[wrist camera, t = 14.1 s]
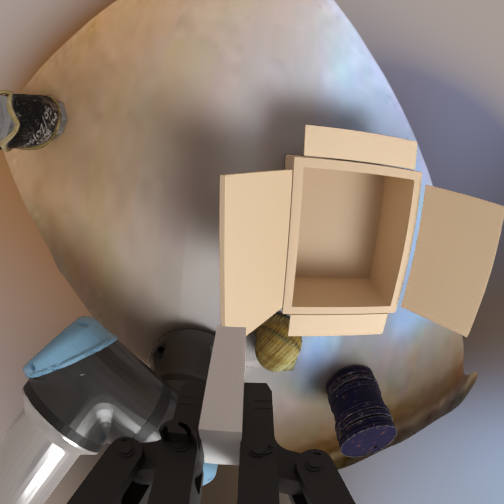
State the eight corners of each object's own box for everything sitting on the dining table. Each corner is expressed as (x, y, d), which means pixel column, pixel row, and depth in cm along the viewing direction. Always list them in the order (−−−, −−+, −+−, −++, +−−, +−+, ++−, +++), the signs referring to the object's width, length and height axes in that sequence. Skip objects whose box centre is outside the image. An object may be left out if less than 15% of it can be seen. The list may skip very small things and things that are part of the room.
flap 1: (225, 175, 20) (219, 175, 20) (225, 351, 26) (221, 349, 26) (292, 169, 28) (288, 169, 28) (282, 307, 33) (278, 306, 34)
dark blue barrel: (316, 383, 50) (329, 446, 36) (360, 356, 48) (385, 417, 34) (340, 405, 53) (355, 462, 39) (380, 381, 51) (404, 436, 37)
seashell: (266, 308, 49) (233, 341, 46) (278, 300, 43) (240, 339, 40) (305, 346, 48) (275, 381, 45) (323, 345, 42) (289, 385, 39)
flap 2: (466, 337, 26) (467, 335, 26) (505, 207, 20) (505, 206, 21) (401, 306, 33) (402, 305, 34) (425, 184, 28) (426, 184, 28)
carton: (276, 300, 44) (280, 336, 36) (286, 129, 35) (295, 123, 27) (368, 301, 44) (388, 333, 36) (391, 142, 35) (424, 143, 27)
